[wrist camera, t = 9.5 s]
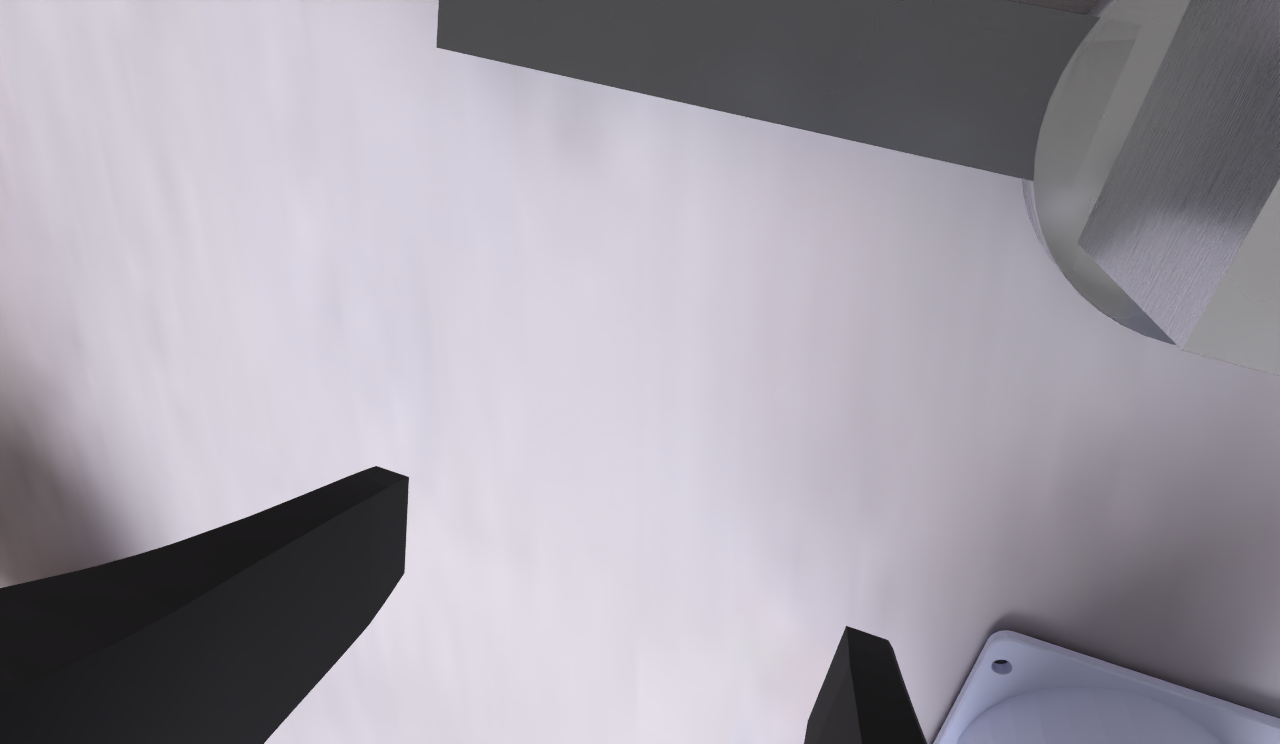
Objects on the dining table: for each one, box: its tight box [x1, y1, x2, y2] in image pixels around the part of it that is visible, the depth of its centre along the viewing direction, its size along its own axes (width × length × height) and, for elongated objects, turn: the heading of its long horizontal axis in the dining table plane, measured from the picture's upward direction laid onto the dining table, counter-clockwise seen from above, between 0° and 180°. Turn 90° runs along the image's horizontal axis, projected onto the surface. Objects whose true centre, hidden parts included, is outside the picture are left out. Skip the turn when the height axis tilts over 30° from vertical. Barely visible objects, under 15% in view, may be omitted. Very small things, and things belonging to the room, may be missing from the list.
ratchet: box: [437, 0, 1190, 345], centre depth 14 cm, size 8×21×5 cm, turn 80°
